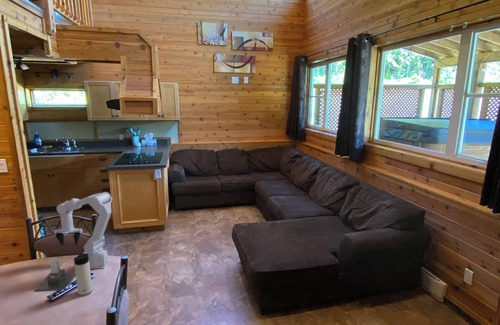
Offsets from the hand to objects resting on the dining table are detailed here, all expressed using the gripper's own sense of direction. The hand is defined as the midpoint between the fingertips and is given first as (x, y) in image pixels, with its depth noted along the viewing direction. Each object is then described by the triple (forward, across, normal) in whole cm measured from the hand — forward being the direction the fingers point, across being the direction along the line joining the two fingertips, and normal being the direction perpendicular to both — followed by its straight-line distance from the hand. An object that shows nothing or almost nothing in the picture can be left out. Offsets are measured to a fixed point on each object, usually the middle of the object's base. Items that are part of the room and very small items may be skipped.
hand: (69, 244), depth 175 cm
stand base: (+10, +2, -21) cm, 24 cm away
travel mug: (+11, +20, -31) cm, 38 cm away
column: (+8, +2, -21) cm, 22 cm away
